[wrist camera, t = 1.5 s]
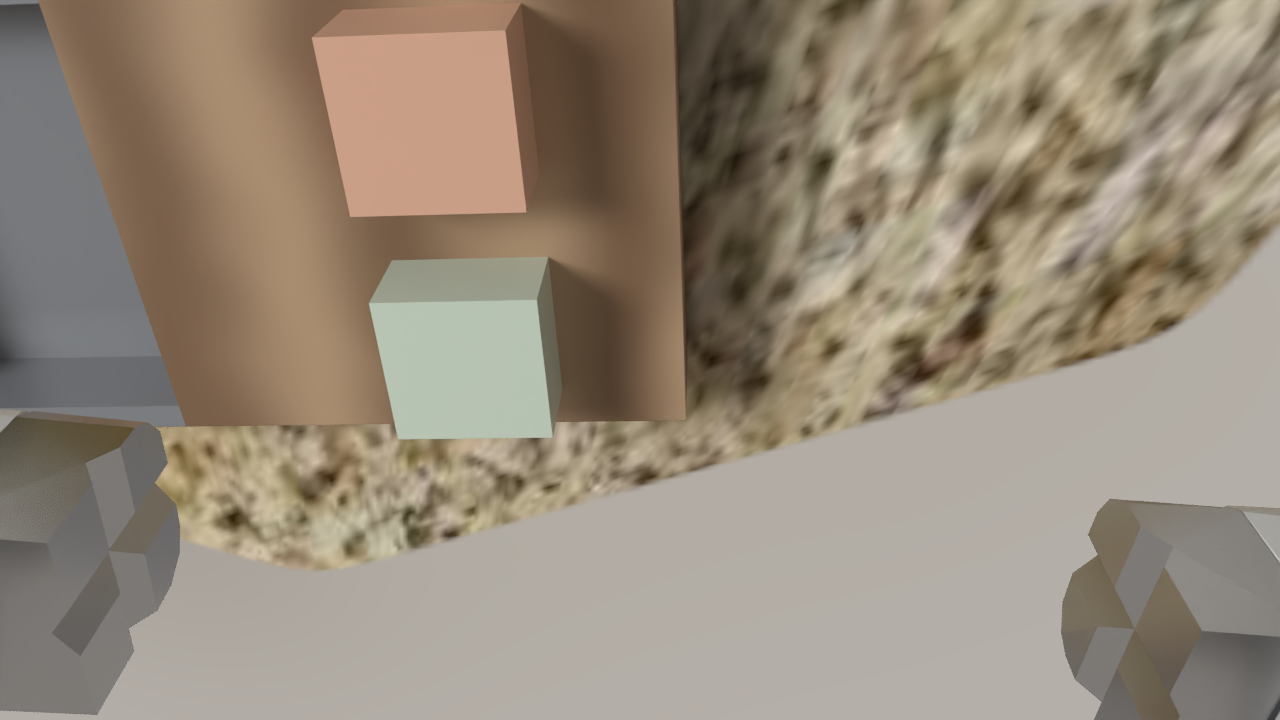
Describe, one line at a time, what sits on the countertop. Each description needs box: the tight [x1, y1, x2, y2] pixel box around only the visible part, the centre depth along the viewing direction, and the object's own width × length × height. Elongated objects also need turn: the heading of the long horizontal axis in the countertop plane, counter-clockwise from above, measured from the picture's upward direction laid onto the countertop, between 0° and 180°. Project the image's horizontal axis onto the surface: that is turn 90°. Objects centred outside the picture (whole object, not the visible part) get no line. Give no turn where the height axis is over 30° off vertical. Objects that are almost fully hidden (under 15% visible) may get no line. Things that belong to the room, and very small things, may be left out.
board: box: [38, 0, 687, 426], centre depth 31 cm, size 16×14×4 cm
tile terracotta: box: [312, 3, 539, 217], centre depth 26 cm, size 4×4×2 cm
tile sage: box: [369, 257, 562, 439], centre depth 30 cm, size 4×4×2 cm
